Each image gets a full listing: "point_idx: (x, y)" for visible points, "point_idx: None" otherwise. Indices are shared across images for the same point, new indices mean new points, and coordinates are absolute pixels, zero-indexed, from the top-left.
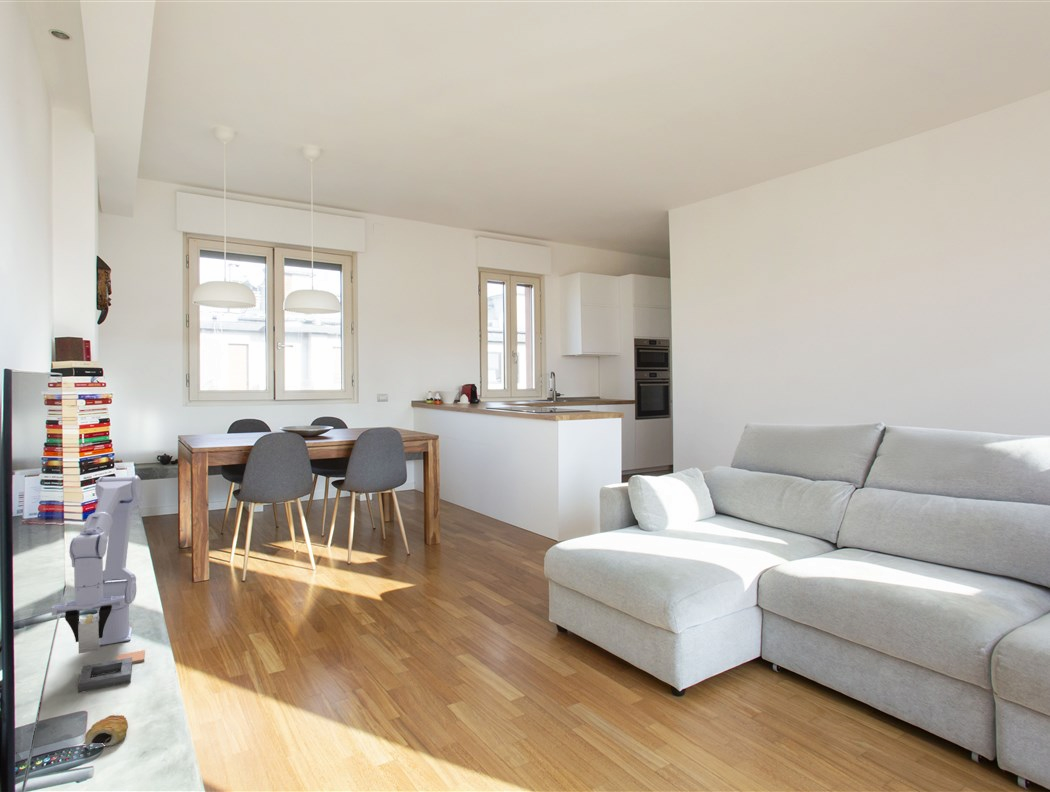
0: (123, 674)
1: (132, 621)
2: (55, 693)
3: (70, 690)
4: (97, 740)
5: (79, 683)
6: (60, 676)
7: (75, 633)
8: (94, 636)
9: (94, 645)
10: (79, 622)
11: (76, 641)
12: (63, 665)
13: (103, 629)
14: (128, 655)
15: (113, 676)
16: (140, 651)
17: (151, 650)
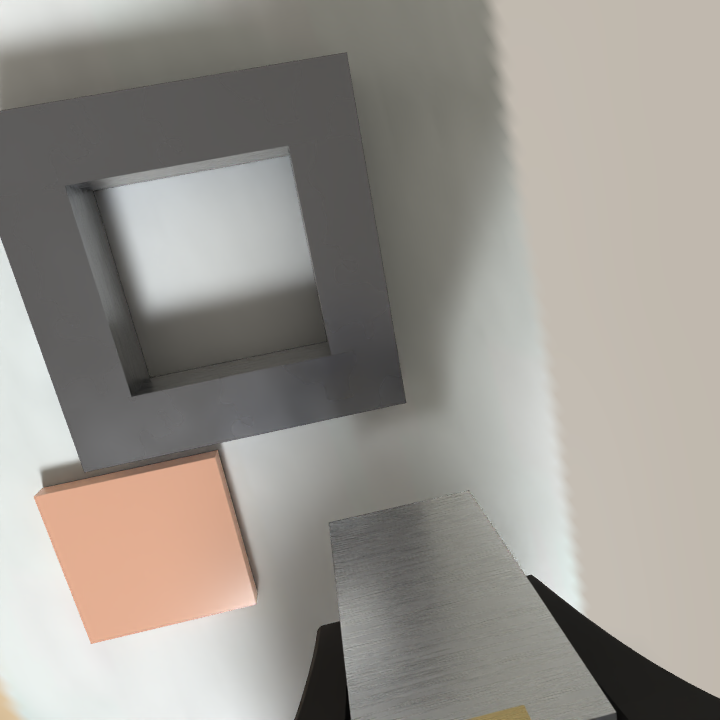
0: (20, 126)
1: None
2: (487, 128)
3: (404, 144)
4: None
5: (338, 63)
6: (520, 398)
7: (583, 627)
8: (377, 604)
9: (364, 542)
10: None
11: (531, 577)
12: (541, 552)
13: (302, 698)
14: (176, 582)
15: (97, 112)
16: (113, 626)
17: (62, 652)
